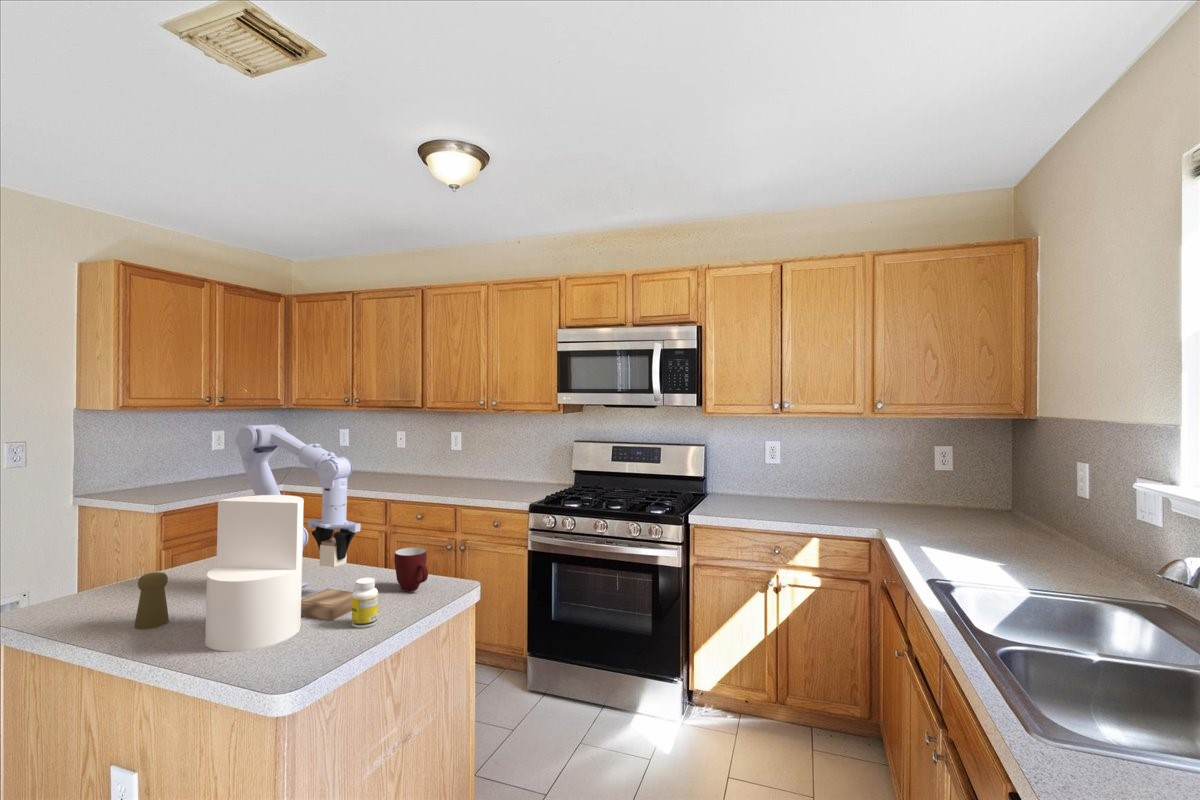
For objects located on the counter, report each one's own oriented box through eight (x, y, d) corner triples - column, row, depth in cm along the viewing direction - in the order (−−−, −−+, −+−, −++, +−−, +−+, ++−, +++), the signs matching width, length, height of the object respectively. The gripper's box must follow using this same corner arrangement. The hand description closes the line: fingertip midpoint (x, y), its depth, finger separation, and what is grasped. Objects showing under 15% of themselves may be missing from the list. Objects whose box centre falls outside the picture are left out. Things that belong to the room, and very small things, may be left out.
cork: (130, 631, 120) (131, 579, 120) (138, 621, 125) (139, 571, 125) (166, 626, 123) (167, 575, 123) (171, 616, 128) (173, 568, 128)
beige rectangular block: (319, 565, 143) (320, 541, 143) (332, 560, 147) (332, 537, 147) (334, 567, 142) (334, 543, 142) (346, 562, 146) (346, 539, 146)
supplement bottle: (351, 621, 128) (352, 577, 128) (377, 617, 130) (378, 575, 130) (351, 630, 123) (352, 585, 123) (378, 626, 125) (379, 582, 125)
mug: (439, 588, 151) (440, 551, 151) (417, 597, 144) (418, 558, 144) (409, 582, 155) (410, 546, 155) (386, 590, 148) (387, 552, 148)
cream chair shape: (241, 616, 129) (244, 493, 129) (316, 619, 129) (319, 496, 129) (183, 649, 112) (187, 508, 112) (269, 653, 111) (272, 511, 111)
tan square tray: (295, 615, 131) (295, 601, 131) (327, 600, 140) (327, 588, 140) (331, 620, 128) (331, 606, 128) (361, 605, 137) (361, 592, 137)
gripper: (299, 505, 143) (297, 559, 143) (347, 509, 139) (346, 564, 139) (320, 500, 149) (318, 552, 149) (366, 504, 146) (365, 557, 146)
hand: (333, 557), depth 145 cm, fingers closed on beige rectangular block, 4 cm apart
